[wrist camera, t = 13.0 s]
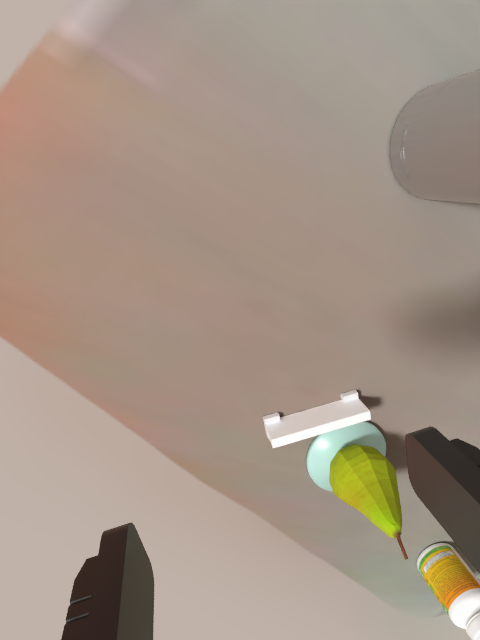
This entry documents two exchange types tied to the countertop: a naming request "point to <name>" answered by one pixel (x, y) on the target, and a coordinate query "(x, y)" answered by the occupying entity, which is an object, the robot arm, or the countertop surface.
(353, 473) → the fruit
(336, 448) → the pad
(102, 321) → the countertop surface
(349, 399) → the rail
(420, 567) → the supplement bottle
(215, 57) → the countertop surface
